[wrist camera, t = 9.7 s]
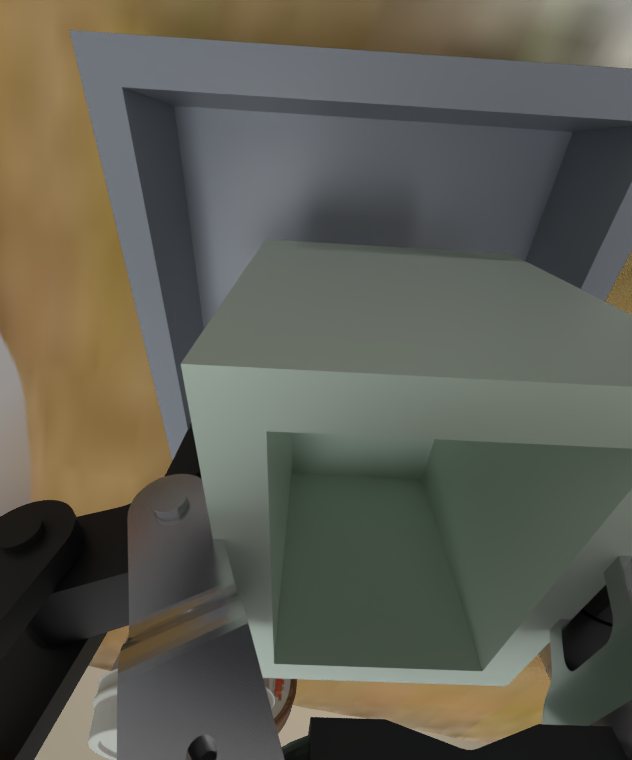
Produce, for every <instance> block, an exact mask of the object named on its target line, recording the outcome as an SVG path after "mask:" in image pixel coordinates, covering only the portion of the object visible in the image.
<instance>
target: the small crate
mask: <svg viewBox="0 0 632 760" xmlns="http://www.w3.org/2000/svg"><path fill="white" fill-rule="evenodd" d="M181 369H182V374H183V380H184V385H185V391H186V396H187V401H188V407H189V412H190V418H191V423H192V429H193V434H194V439H195V445H196V450H197V456H198V461H199V467H200V472H201V477H202V483H203V488H204V494H205V499H206V505H207V510H208V515H209V521H210V526H211V532H212V537H213V539H224V543H225V546H226V550H227V554H228V558H229V562H230V566H231V570H232V573H233V577H234V581H235V585H236V588H237V591H238V594H239V595H240V597H241V600H242V603H243V606H244V609H245V613H246V616H247V620H248V624H249V628H250V631H251V635H252V639H253V643H254V646H255V650H256V654H257V658H258V661H259V665H260V669H261V673H262V676H263V678H283V679H312V680H341V681H370V682H399V683H428V684H457V685H486V686H507V685H508V684H509V683H510V682H511V681H512V680H513V679H514V678H515V677H516V676H517V675H518V674H519V673H520V672H521V671H522V670H523V669H524V668H525V667H526V666H527V665H528V664H529V663H530V662H531V661H532V660H533V659H534V658H535V657H536V656H537V655H538V654H539V653H540V651H541V650H542V649H543V648H544V647H545V646H546V645H547V644H548V643H549V642H550V634H549V630H550V629H551V628H552V627H553V626H554V625H555V624H556V623H557V622H558V621H559V620H560V619H573V618H574V617H575V616H576V615H577V614H578V613H579V611H580V610H581V609H582V608H583V607H584V606H585V605H586V604H587V603H588V602H589V601H590V600H591V599H592V598H593V597H594V596H595V595H596V594H597V593H598V592H599V591H600V590H601V589H602V588H603V587H604V586H605V585H606V582H605V577H604V573H603V572H604V571H605V570H606V569H607V568H608V567H609V566H610V565H611V564H612V563H613V562H614V561H615V560H616V558H617V557H618V556H632V315H631V314H629V313H627V312H625V311H623V310H621V309H619V308H617V307H615V306H613V305H611V304H609V303H607V302H605V301H603V300H601V299H599V298H597V297H595V296H593V295H591V294H589V293H587V292H585V291H584V290H582V289H580V288H578V287H576V286H574V285H572V284H570V283H568V282H566V281H564V280H562V279H560V278H558V277H556V276H554V275H552V274H550V273H548V272H546V271H544V270H542V269H540V268H538V267H536V266H534V265H532V264H530V263H528V262H526V261H524V260H522V259H520V258H518V257H516V256H514V255H512V254H508V253H491V252H474V251H457V250H440V249H422V248H405V247H388V246H371V245H354V244H336V243H319V242H302V241H285V240H268V239H265V241H264V242H263V243H262V245H261V246H260V248H259V249H258V251H257V252H256V254H255V255H254V257H253V258H252V260H251V261H250V263H249V264H248V266H247V267H246V268H245V270H244V271H243V273H242V274H241V276H240V277H239V279H238V280H237V282H236V283H235V285H234V286H233V288H232V289H231V290H230V292H229V293H228V295H227V296H226V298H225V299H224V301H223V302H222V304H221V305H220V307H219V308H218V310H217V311H216V313H215V314H214V315H213V317H212V318H211V320H210V321H209V323H208V324H207V326H206V327H205V329H204V330H203V332H202V333H201V335H200V336H199V337H198V339H197V340H196V342H195V343H194V345H193V346H192V348H191V349H190V351H189V352H188V354H187V355H186V357H185V358H184V360H183V361H182V362H181Z"/></svg>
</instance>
